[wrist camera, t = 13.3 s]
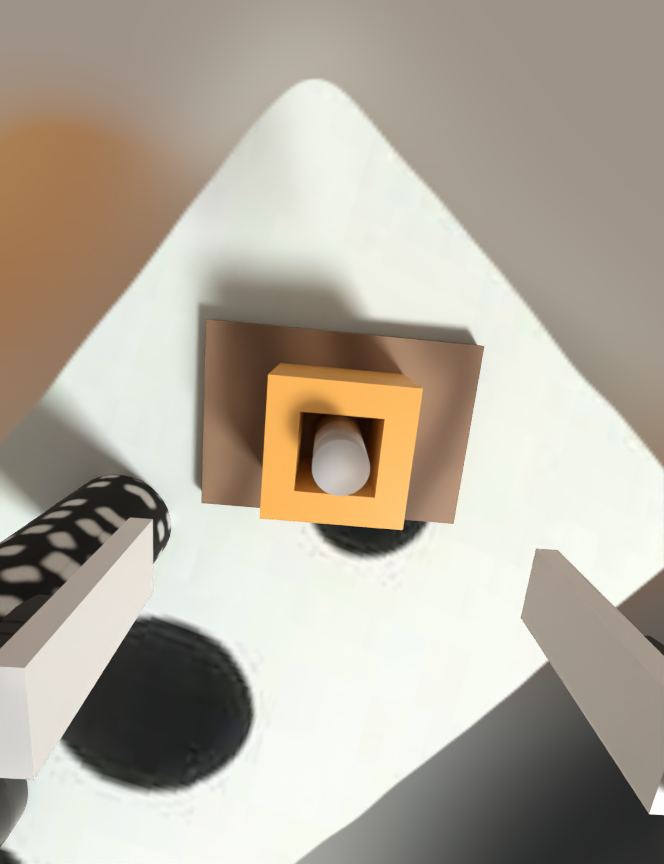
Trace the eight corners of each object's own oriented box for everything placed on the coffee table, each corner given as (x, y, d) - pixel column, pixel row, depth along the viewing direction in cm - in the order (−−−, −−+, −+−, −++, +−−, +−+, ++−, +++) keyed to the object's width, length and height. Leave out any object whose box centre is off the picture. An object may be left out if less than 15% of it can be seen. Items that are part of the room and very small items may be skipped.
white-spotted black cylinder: (162, 471, 36) (-27, 648, 17) (178, 564, 38) (24, 817, 19) (59, 478, 36) (-249, 662, 17) (80, 570, 38) (-173, 829, 19)
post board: (206, 495, 37) (157, 568, 26) (211, 319, 33) (156, 320, 23) (448, 515, 37) (496, 594, 27) (477, 344, 34) (546, 357, 23)
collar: (272, 479, 35) (259, 518, 28) (280, 362, 33) (268, 374, 26) (388, 489, 35) (402, 529, 28) (403, 374, 33) (423, 388, 26)
